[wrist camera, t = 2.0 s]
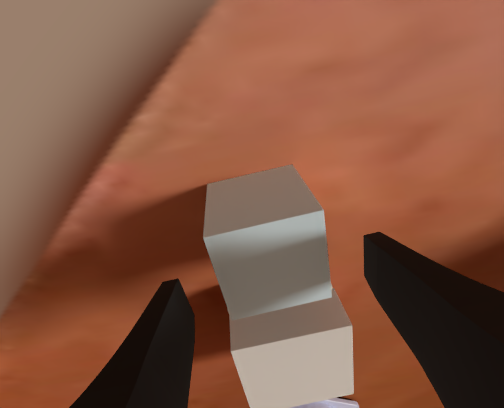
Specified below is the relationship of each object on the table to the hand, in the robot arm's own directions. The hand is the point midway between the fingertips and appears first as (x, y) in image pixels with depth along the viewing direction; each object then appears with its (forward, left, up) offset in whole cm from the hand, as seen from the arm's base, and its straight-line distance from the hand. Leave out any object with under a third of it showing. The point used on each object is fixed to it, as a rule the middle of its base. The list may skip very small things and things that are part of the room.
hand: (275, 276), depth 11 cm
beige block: (-6, -5, -3) cm, 8 cm away
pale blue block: (0, 0, -5) cm, 5 cm away
